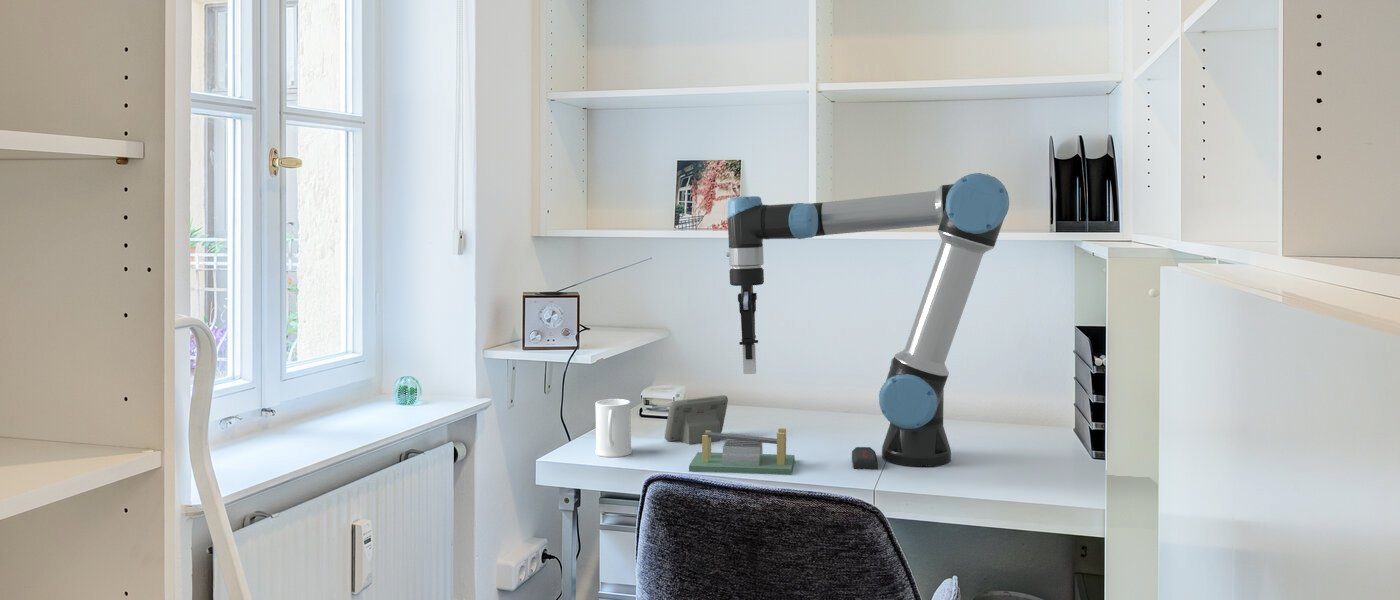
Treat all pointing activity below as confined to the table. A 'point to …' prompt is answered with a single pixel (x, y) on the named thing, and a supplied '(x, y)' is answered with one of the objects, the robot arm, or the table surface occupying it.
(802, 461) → the table surface
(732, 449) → the heatsink
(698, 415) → the digital clock
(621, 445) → the mug
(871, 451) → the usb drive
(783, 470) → the board
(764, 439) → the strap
